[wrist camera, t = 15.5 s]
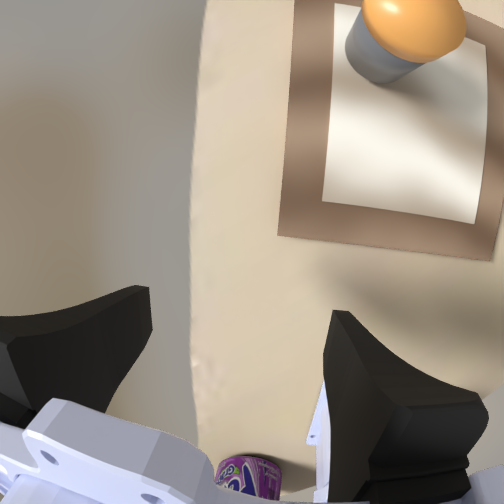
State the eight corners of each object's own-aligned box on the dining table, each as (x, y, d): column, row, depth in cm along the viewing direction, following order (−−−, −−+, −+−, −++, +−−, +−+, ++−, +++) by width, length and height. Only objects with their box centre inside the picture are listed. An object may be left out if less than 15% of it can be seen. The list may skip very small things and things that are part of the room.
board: (483, 256, 19) (491, 262, 18) (278, 231, 21) (277, 236, 20) (499, 33, 14) (507, 29, 12) (295, -22, 15) (295, -30, 14)
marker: (405, 93, 16) (468, 67, 8) (339, 80, 16) (369, 38, 9) (406, 34, 15) (461, -15, 7) (342, 20, 15) (367, -45, 7)
